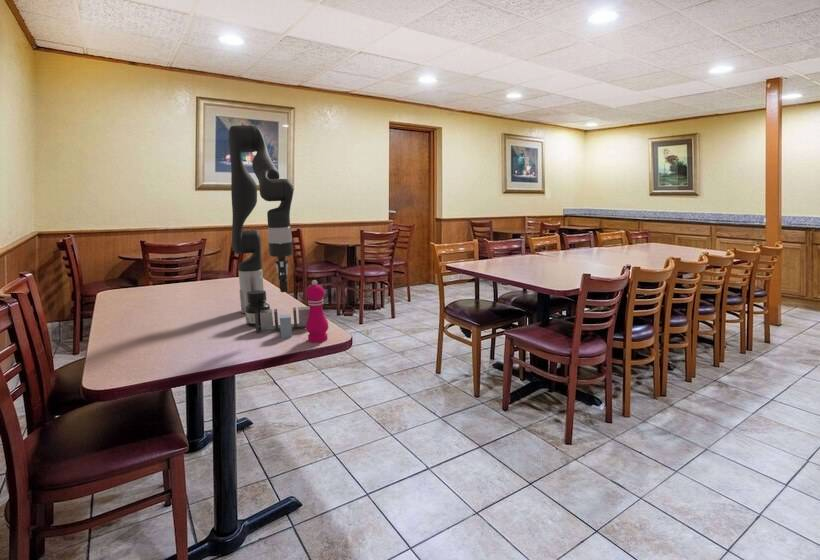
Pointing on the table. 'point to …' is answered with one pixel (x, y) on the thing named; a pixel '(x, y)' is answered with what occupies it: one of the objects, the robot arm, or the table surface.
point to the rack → (267, 320)
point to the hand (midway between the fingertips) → (283, 289)
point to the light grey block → (285, 326)
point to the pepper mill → (316, 314)
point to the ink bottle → (255, 305)
